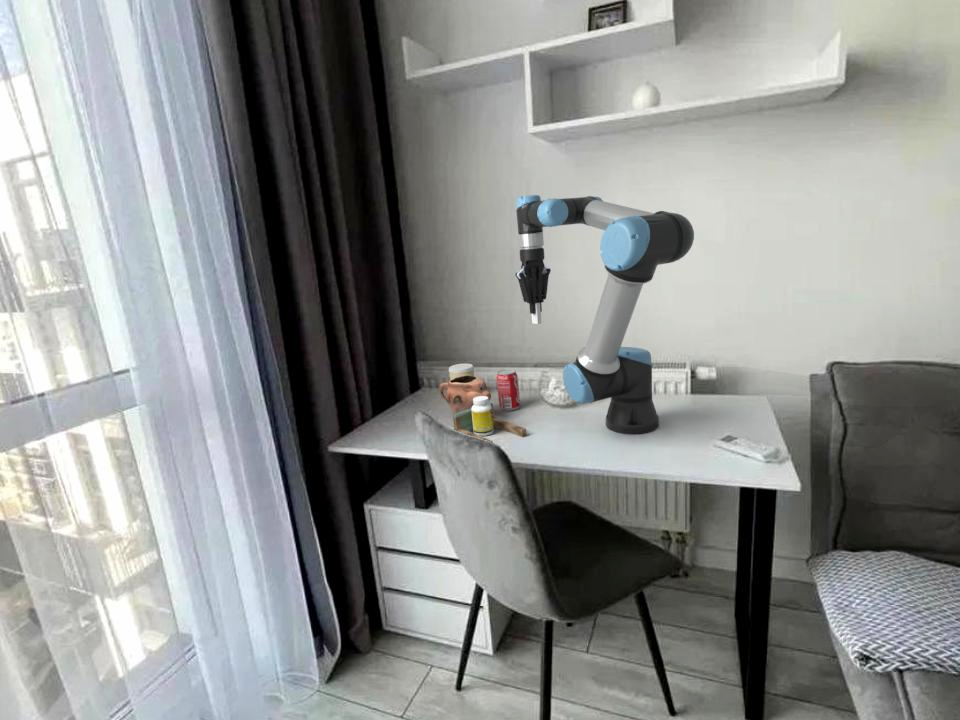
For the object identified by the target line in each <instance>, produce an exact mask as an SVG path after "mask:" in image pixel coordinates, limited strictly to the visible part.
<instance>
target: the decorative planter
mask: <svg viewBox="0 0 960 720" xmlns="http://www.w3.org/2000/svg"><path fill="white" fill-rule="evenodd" d="M444 389H447V390H446V393H445V395H444ZM438 393H439V395H440V397H441V398H442V399H444V400H445V402H446V404H447V405H448V406H449V408H450V410H451V411H452V415H453V414H455V413H458V412H461V411H464V410H467V409H470V408H472V406H473V405H474V404H473V398H475V397H478V396H487V397H488V398H489V401H490V400H491V398H492V393H491V391H490V389H489V388H488V386H487V383H486V382H485V381H484V380H483V379H482V378H481V377H478V376H475V375H474V376H460V377H456V378H454V379H452V380H450V379H449V381H448V382H442V383H441V384H440V385H439V387H438Z"/></svg>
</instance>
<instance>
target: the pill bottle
mask: <svg viewBox="0 0 960 720" xmlns="http://www.w3.org/2000/svg"><path fill="white" fill-rule="evenodd" d="M489 402H490V400H489V398H488V397H487V396H478V397H475V398H473V404H474V405H473V406H472V408H471V411H472V421H473V431H472V432H473V433H474V434H476V435H479V436H481V437H486V436H490V435H492V434H493V433H494V430H495V427H494V426H493V416H494V414H493V415H492V406H491V405H490V404H488V403H489Z"/></svg>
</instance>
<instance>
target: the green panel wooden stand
mask: <svg viewBox="0 0 960 720" xmlns="http://www.w3.org/2000/svg"><path fill="white" fill-rule="evenodd" d="M488 404H490V405H491V406H492V415H493V426H494V428H498V429H500V430H502V431H505V432H508V433H511V434H513V435H516V436H518V437H521V438H524V437H527V428H525V427H522V426H519V425H518V424H514V423H511V422H509V421H505V420H503V419H500V418H498V417H497V418H496V417H494V408H493V407H494V406H493V403H492V402H490V401H489V402H488ZM452 419H453V420H452V421H453V429H454V430H456V431H458V432H461V433H464V434H467V435H470V436H473V437H476V438H480V439H483V440H487V441H489V442H492V443H493V440H491V439H488V438H486V437H485V436H479V435H476V434H474V431H473V421H472V411H471V408H470V409H467V410H464V411H461V412H458V413H455V414H453V413H452Z"/></svg>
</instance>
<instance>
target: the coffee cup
mask: <svg viewBox="0 0 960 720" xmlns="http://www.w3.org/2000/svg"><path fill="white" fill-rule="evenodd" d="M448 372H449V373H448V375H449V381H450V380H452V379H454V378H456V377H460V376H475V367H474V365H473V364H472V363H457V364H453V365H450V366H449V367H448Z"/></svg>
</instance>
